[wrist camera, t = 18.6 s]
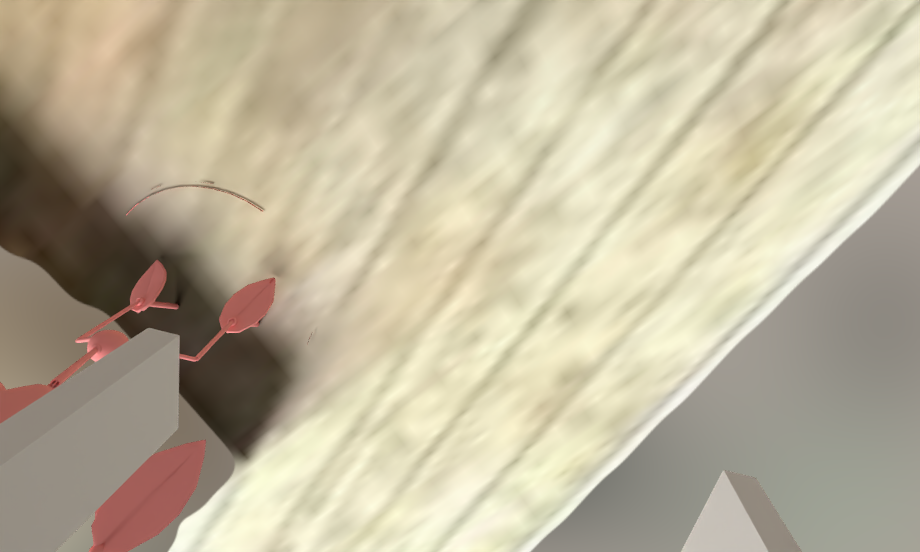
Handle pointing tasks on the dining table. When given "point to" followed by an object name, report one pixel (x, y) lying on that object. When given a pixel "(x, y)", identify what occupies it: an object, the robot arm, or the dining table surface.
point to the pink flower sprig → (167, 472)
